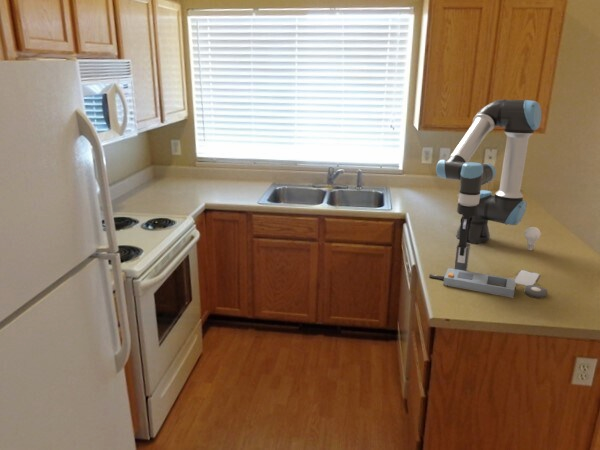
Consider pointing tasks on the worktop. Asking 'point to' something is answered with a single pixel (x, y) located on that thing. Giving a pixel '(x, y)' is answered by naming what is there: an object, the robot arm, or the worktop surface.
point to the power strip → (478, 282)
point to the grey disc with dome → (535, 291)
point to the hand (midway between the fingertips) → (461, 259)
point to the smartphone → (526, 278)
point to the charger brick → (464, 265)
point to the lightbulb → (532, 237)
